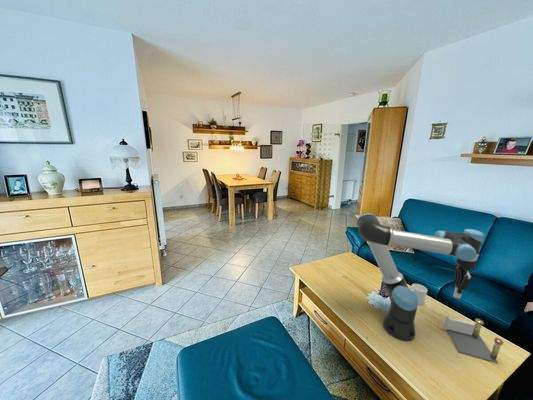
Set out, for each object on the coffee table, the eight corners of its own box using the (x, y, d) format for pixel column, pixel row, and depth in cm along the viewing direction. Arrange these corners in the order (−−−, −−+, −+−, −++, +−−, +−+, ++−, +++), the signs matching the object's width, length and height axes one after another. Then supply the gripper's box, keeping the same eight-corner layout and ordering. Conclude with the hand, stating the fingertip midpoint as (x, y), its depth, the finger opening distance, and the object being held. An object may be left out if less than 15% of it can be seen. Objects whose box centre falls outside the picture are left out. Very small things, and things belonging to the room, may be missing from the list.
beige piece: (470, 333, 117) (473, 321, 115) (472, 335, 116) (475, 324, 114) (443, 326, 121) (446, 315, 119) (444, 328, 120) (447, 317, 118)
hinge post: (472, 339, 115) (477, 322, 113) (469, 334, 118) (474, 317, 116) (479, 341, 114) (485, 323, 112) (476, 336, 117) (481, 319, 114)
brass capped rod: (490, 360, 104) (497, 341, 101) (487, 355, 106) (493, 337, 104) (498, 362, 103) (504, 343, 100) (494, 357, 105) (501, 338, 103)
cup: (427, 305, 139) (430, 291, 137) (409, 305, 139) (412, 292, 136) (417, 296, 147) (420, 283, 145) (400, 297, 147) (403, 283, 144)
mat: (458, 352, 108) (458, 351, 107) (444, 326, 123) (445, 325, 123) (497, 363, 102) (497, 362, 102) (478, 335, 118) (478, 334, 118)
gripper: (482, 266, 107) (471, 306, 113) (469, 254, 119) (459, 291, 125) (463, 263, 110) (453, 303, 116) (453, 251, 122) (443, 288, 127)
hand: (456, 297), depth 120 cm, fingers closed
